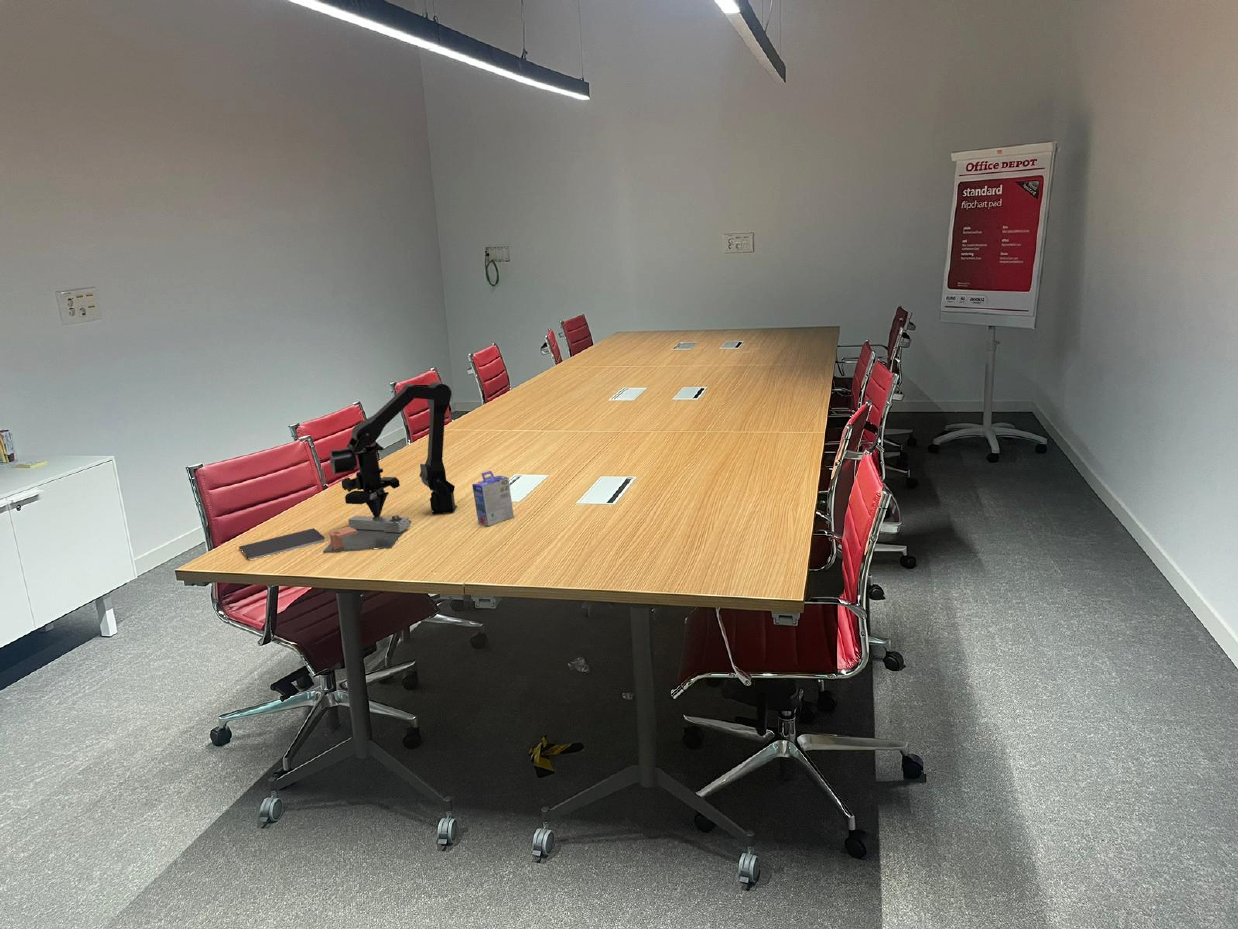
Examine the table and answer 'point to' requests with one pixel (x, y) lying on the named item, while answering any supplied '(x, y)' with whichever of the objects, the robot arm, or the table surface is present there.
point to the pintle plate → (368, 539)
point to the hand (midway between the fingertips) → (377, 518)
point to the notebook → (282, 543)
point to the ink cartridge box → (492, 499)
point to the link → (379, 523)
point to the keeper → (340, 536)
